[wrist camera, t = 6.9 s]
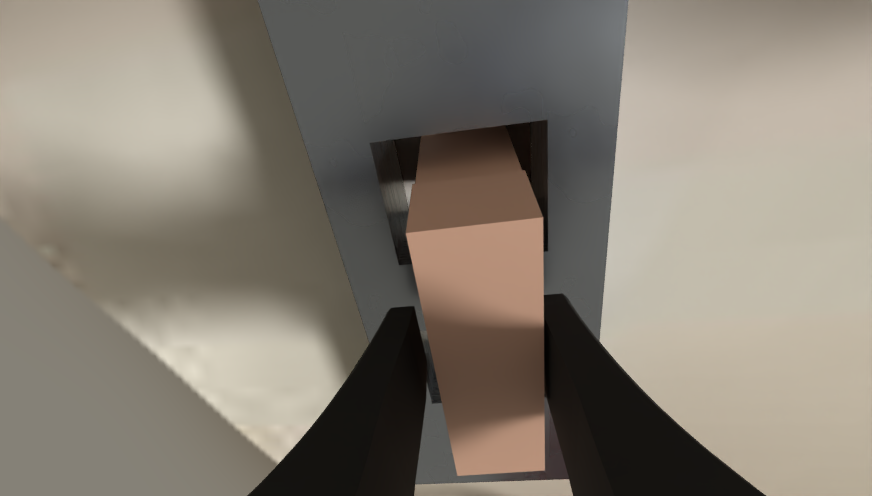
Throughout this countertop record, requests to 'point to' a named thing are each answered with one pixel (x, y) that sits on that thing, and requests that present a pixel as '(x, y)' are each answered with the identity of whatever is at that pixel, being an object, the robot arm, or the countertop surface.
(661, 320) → the countertop surface
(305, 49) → the gray slotted board
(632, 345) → the countertop surface
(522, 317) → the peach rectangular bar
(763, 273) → the countertop surface
